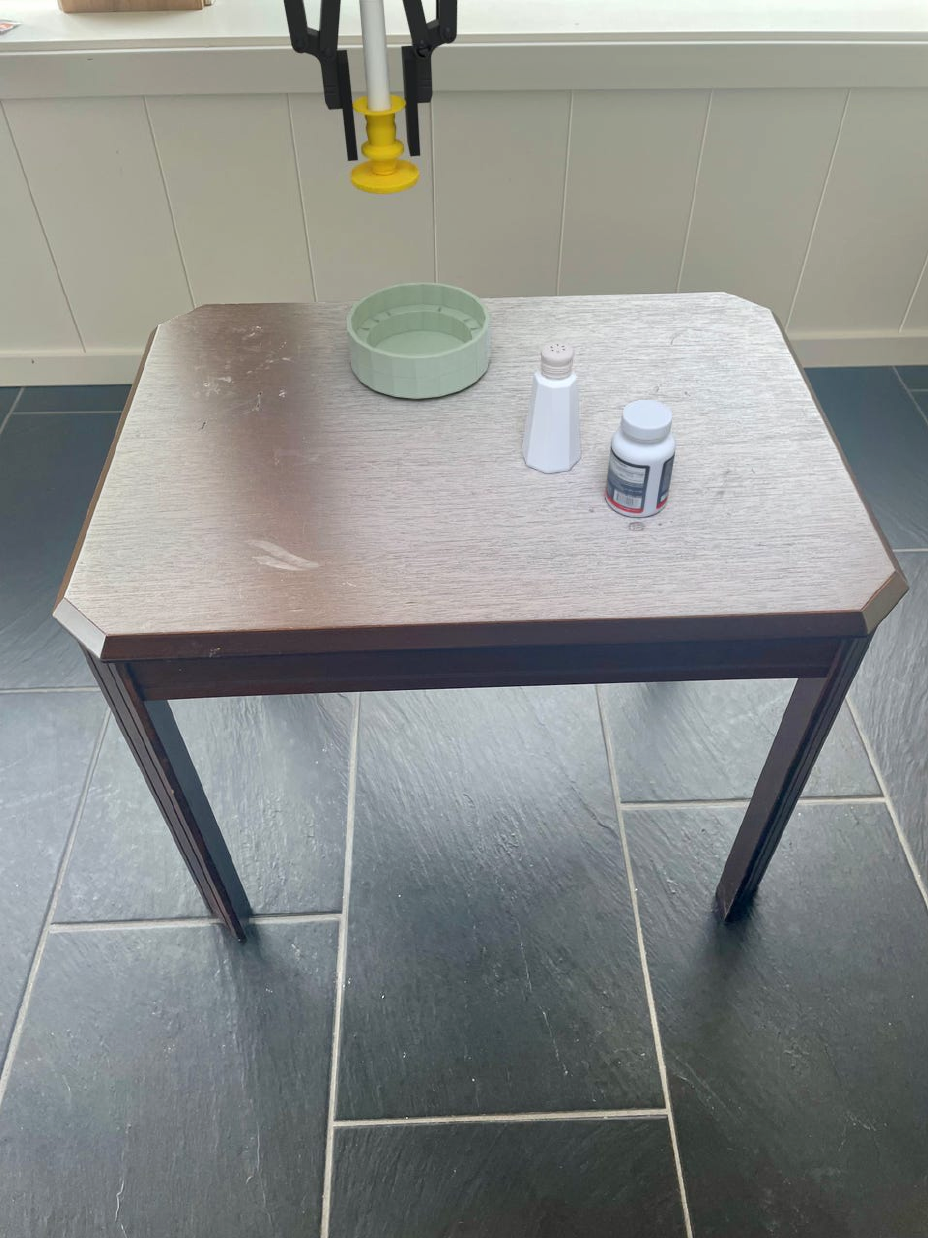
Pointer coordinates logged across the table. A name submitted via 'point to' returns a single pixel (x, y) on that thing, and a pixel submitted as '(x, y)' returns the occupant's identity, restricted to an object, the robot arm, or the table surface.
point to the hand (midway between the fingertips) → (382, 150)
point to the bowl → (419, 339)
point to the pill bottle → (641, 459)
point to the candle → (380, 113)
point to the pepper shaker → (553, 412)
